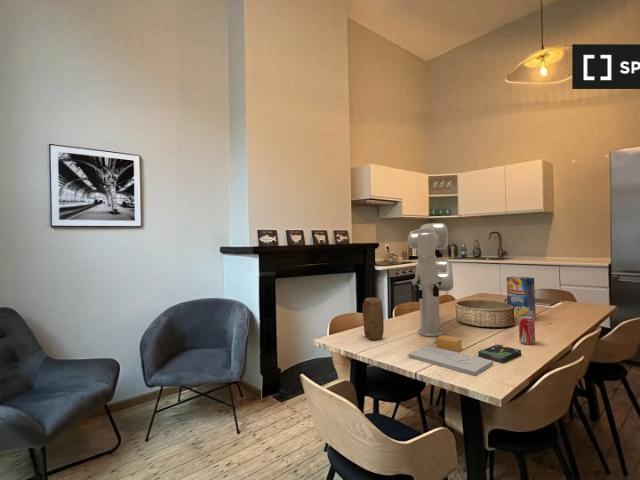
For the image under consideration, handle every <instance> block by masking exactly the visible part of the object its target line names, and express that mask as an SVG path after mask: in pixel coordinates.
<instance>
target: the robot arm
mask: <svg viewBox="0 0 640 480" xmlns="http://www.w3.org/2000/svg"><path fill="white" fill-rule="evenodd" d="M407 245H408V246H409V248H410V249H413V250H415V249H416V251H417V263H416V264H415V265H416V266H415V274H414V275H415V276H414V278H413V279H411V284H412V286H413V288H414V289H415V290H416V299H419V318H420V329H418V330H417V334H418V335H420V336H424V337H429V338H430V337H431V338H433V337H436V338H437V337H439V336H441V335H443V336H444V331H443V330H441V328H442V327H444V323H443V322H441V318H440V317H441V315H440V299H439V297H440V292H449V291H451V290H452V289H454V274H453V266H452V264H451V262H450V260H449V259H437V256H436V250H445V249H447V248H448V245H449V231H448V226H447V225H446V224H445V223H444V222H437V223H436V222H435V223H432V222H431V223H425V224H424V223H423V224H422V225H421V226H420V228H417V229H414V230H411V231H410V232H409V234H408V237H407Z"/></svg>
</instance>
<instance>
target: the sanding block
mask: <svg viewBox="0 0 640 480" xmlns="http://www.w3.org/2000/svg"><path fill="white" fill-rule="evenodd" d="M435 340H436V341H435V343H436V345H435V346H436V347H437V348H441V349H446V350H450V351H454V352H458V353H460V352H461V351H462V350H463V347H462V346H463V344H462V341H463V340H462V338H458V337H453V336H449V335H444V334H443V335H441V336H437V337H436V339H435Z"/></svg>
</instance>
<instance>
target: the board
mask: <svg viewBox="0 0 640 480" xmlns="http://www.w3.org/2000/svg"><path fill="white" fill-rule="evenodd" d="M407 355H408V356H407V357H408V358H410V359H414V360H416V361H421V362H424V363H428V364H432V365H434V366H438V367H442V368H444V369H449V370H452V371H456V372H459V373H462V374H463V373H464V374H466V375H469V376H470V375H471V376H474V377H475V376H478V375H479V374H481V373H482V372H484V371H486V370H487V369H489V368H490V367H491V366H493V365H494V361H491V360H488V359H484V358H481V357H478V356H475V355H471V354H465V353H460V352H454V351H450V350H446V349H441V348H437V346H432V345H429V344H428V345H425V346H424V347H423V346H422V347H421V348H418V349H416V350H414V351H411V352H409V353H407Z"/></svg>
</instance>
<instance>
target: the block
mask: <svg viewBox="0 0 640 480" xmlns="http://www.w3.org/2000/svg"><path fill="white" fill-rule="evenodd" d="M382 302H383V301H382V299H381V298H379V297H374V296H373V297H370V296H369V297H366V298H364V300H363V303H362V319H363V320H362V321H363V331H364V335H365V337H366V338H367V339H369V340H372V341H378V340H381V339H382V338H383V337H384V330H385V327H384V326H385V324H384V323H385V322H384V311H383V310H384V308H383V303H382Z"/></svg>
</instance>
